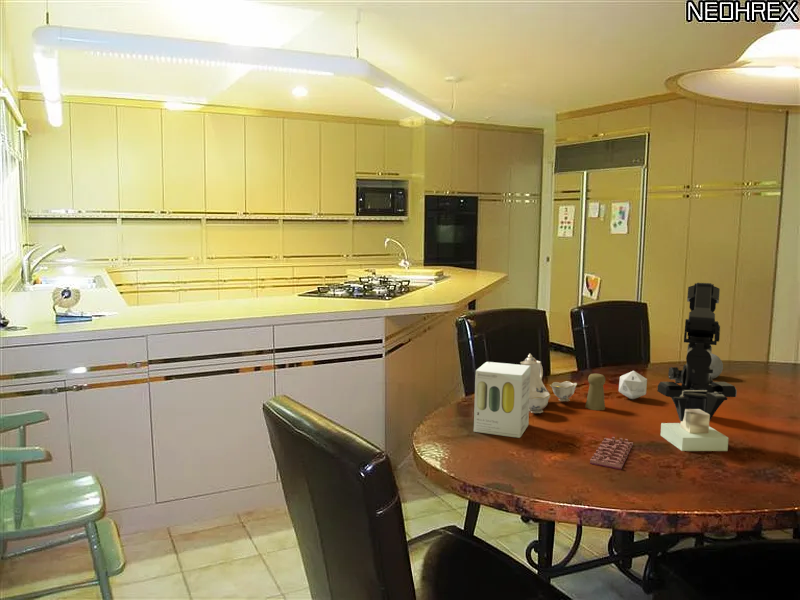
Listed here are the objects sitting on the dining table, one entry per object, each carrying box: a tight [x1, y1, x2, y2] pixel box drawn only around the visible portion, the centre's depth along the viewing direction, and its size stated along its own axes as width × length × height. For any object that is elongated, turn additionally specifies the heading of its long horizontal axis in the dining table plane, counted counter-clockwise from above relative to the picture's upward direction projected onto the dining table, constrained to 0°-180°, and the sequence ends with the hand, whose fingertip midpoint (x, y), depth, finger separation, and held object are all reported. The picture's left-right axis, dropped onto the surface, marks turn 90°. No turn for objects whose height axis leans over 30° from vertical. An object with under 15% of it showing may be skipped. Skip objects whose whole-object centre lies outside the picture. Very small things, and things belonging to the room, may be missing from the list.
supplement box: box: [473, 361, 531, 439], centre depth 175 cm, size 13×13×18 cm
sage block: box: [660, 422, 729, 452], centre depth 166 cm, size 12×12×4 cm
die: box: [618, 370, 648, 400], centre depth 208 cm, size 8×9×10 cm
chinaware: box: [519, 353, 578, 414], centre depth 198 cm, size 28×17×17 cm, turn 143°
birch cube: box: [680, 409, 710, 433], centre depth 166 cm, size 5×5×5 cm
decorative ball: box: [710, 352, 724, 380], centre depth 239 cm, size 10×10×10 cm
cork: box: [584, 373, 606, 411], centre depth 197 cm, size 6×6×11 cm
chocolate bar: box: [589, 436, 634, 470], centre depth 158 cm, size 7×19×2 cm, turn 152°
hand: (694, 420), depth 166 cm, fingers open, 7 cm apart
